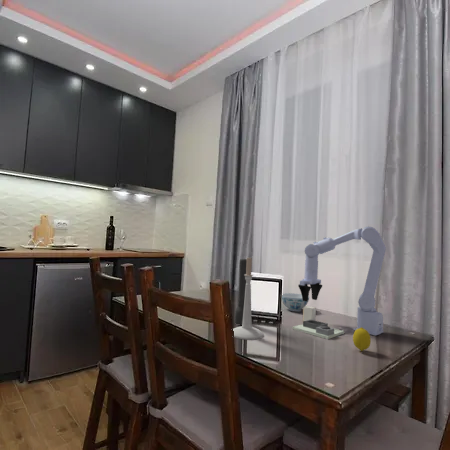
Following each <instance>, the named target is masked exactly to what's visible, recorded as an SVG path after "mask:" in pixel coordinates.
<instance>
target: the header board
mask: <svg viewBox="0 0 450 450" xmlns="http://www.w3.org/2000/svg"><path fill="white" fill-rule="evenodd" d="M292 330H295V331H297V332H302V333H305V334H308V335H312V336H315V337H318V338H322V339H325V340H330V339H332V338H335V337H338V336H341V335H344V334H345V330H342V329H338V328H333V327H330V326H329V323H327V322H324V321H323V322H322V321H318V320H316V321H315V320H307V321H303V320H302V324H298V325H294V326H292Z"/></svg>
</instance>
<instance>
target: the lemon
mask: <svg viewBox="0 0 450 450" xmlns="http://www.w3.org/2000/svg"><path fill="white" fill-rule="evenodd" d="M371 341H372V339H371V334H369V333H368V331H367V330H365V329H364V328H362V327H361V328H359V329H357V330H354V332H353V335H352V342H353V344H354V346H355V348H357V349H358V350H359V351H360V352H364V351H365V350H368V349H369V348H370V346H371Z"/></svg>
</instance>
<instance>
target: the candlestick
mask: <svg viewBox="0 0 450 450" xmlns="http://www.w3.org/2000/svg"><path fill="white" fill-rule="evenodd" d="M246 259H247V265H246V275H245V279H246V288H245V300H244V312H243V323H242V326H237V327H234V328H232V329H233V331H234V337H233V338H236V339H239V340H246V341H247V340H249V341H252V340H253V341H254V340H260V339H262V338H263V337H264V333H263V332H262V330H260V329H259V328H256V327H253V324H252V284H251V282H252V279H253V277H254V274H252V268H253V267H252V264H253V262H252V261H253V257H246Z"/></svg>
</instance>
